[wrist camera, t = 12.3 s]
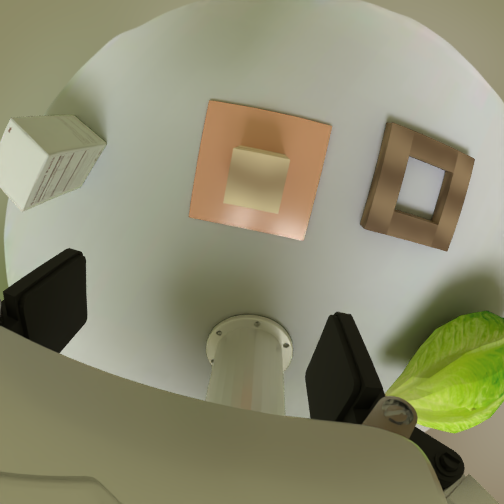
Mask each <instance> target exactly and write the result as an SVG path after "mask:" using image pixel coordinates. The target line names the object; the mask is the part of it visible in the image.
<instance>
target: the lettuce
mask: <svg viewBox="0 0 504 504" xmlns="http://www.w3.org/2000/svg"><path fill="white" fill-rule="evenodd" d="M385 396H395V397H399V398H402V399H404V400H406V401H407V402H408V403H410V404H411V405H412V406H413V407H414V409H415V411H416V412H417V417H418V419H417V424H420V425H423V426H426V427H430V428H434V429H438V430H442V431H447V432H450V433H457V432H460V431H464V430H467V429H469V428H471V427H474V426H476V425H478V424H480V423H481V422H483V421H485V420H487V419H488V418H490V417H491V416H492V415H493V414H494V412H495V411H496V410H497V409H498V408H499V406H500V405H501V404H502V403H503V401H504V318H502V317H500V316H498V315H495V314H493V313H491V312H489V311H482V312H475V313H470V314H466V315H461V316H459V317H457V318H455V319H453V320H452V321H450V322H448V323H446V324H444V325H443V326H441V327H439V328H437V329H435V331H434V332H433V333H432V334H431V335H430V336H429V338H428V339H427V340H426V341H425V342H424V343H423V344H422V345H421V346H420V347H419V349H418V350H417V352H416V353H415V355H414V356H413V358H412V359H411V360H410V362H409V363H408V365H407V366H406V368H405V370H404V371H403V373H402V374H401V375H400V376H399V377H398V379H397V380H396V381H395V382H394V383H393V385H392V386H391V387H390V388H389V389H388V390H387V392H386V393H385Z"/></svg>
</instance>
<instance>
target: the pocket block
mask: <svg viewBox="0 0 504 504" xmlns="http://www.w3.org/2000/svg"><path fill="white" fill-rule="evenodd" d="M409 156H410V157H413V158H415V159H418V160H420V161H423V162H425V163H428V164H430V165H433V166H435V167H438V168H440V169H442V170H445V171H446V172H445V175H444V179H443V183H442V187H441V190H440V194H439V197H438V201H437V204H436V207H435V210H434V214H433V217H432V220H427V219H424V218H421V217H418V216H415V215H412V214H409V213H405V212H402V211H399V210H396V209H395V206H396V202H397V199H398V195H399V192H400V188H401V185H402V181H403V177H404V174H405V170H406V166H407V162H408V158H409ZM474 161H475V159H474V158H472V157H470V156H468V155H466V154H464V153H462V152H460V151H458V150H456V149H454V148H452V147H450V146H447V145H445V144H443V143H441V142H439V141H437V140H434V139H432V138H430V137H427V136H425V135H423V134H420V133H418V132H416V131H413V130H411V129H408V128H406V127H403V126H401V125H398V124H395V123H386V127H385V131H384V136H383V140H382V144H381V149H380V153H379V157H378V161H377V165H376V169H375V173H374V176H373V180H372V184H371V188H370V191H369V195H368V198H367V202H366V205H365V209H364V212H363V216H362V219H361V222H360V225H361V226H362V227H363V228H364V229H366V230H370V231H374V232H378V233H382V234H386V235H390V236H393V237H397V238H401V239H404V240H408V241H412V242H415V243H419V244H423V245H426V246H430V247H433V248H437V249H440V250H444V251H448V248H449V245H450V242H451V240H452V237H453V234H454V231H455V228H456V225H457V222H458V219H459V216H460V213H461V210H462V206H463V203H464V199H465V196H466V192H467V189H468V185H469V181H470V178H471V174H472V170H473V165H474Z"/></svg>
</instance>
